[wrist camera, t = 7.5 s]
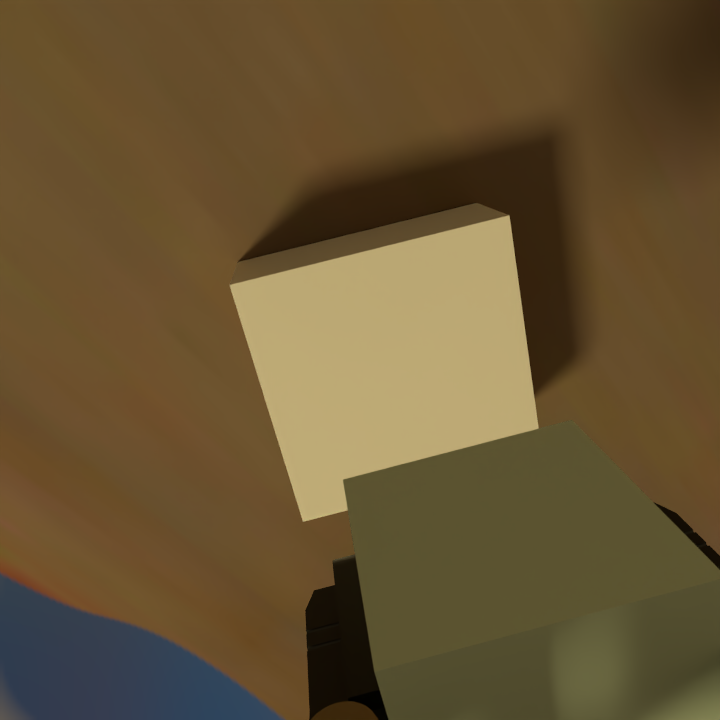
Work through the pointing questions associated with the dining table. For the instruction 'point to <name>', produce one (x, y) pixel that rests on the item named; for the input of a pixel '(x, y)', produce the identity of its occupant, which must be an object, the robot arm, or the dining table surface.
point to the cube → (532, 588)
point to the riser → (388, 347)
